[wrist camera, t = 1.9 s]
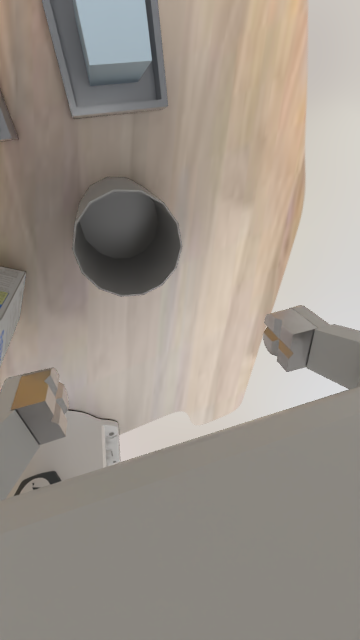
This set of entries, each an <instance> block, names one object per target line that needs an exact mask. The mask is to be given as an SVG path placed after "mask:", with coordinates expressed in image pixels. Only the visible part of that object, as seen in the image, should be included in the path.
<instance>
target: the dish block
mask: <svg viewBox="0 0 360 640" xmlns="http://www.w3.org/2000/svg"><path fill="white" fill-rule="evenodd" d="M42 3H43V7H44V11H45V14H46V18H47V22H48V26H49V30H50V34H51V37H52V41H53V45H54V49H55V53H56V57H57V60H58V64H59V68H60V72H61V76H62V80H63V83H64V87H65V91H66V95H67V99H68V103H69V106H70V110H71V114H72V117H73V118H74V119H78V118H87V117H97V116H106V115H116V114H125V113H135V112H144V111H154V110H162V109H164V108H166V107H168V100H167V90H166V80H165V70H164V60H163V50H162V40H161V30H160V20H159V10H158V0H145V5H146V13H147V22H148V30H149V39H150V47H151V56H152V61H151V63H150V64H149V66H148V67H147V69H146V70H145V72H144V73H143V75H142V76H141V78H140V79H139V81H138V82H133V83H121V84H110V85H98V86H90V83H89V78H88V74H87V69H86V64H85V60H84V55H83V51H82V46H81V42H80V37H79V33H78V28H77V23H76V19H75V13H74V5H73V0H42Z"/></svg>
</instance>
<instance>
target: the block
mask: <svg viewBox="0 0 360 640" xmlns="http://www.w3.org/2000/svg"><path fill="white" fill-rule="evenodd" d="M73 5H74V13H75V19H76V23H77V28H78V33H79V37H80V42H81V46H82V51H83V55H84V60H85V64H86V69H87V74H88V78H89V83H90V86H98V85H110V84H121V83H133V82H138V81H139V79H140V78H141V76H142V75H143V73H144V72H145V70H146V69H147V67H148V66H149V64H150V63H151V61H152V56H151V47H150V39H149V30H148V22H147V13H146V5H145V0H73Z"/></svg>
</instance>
